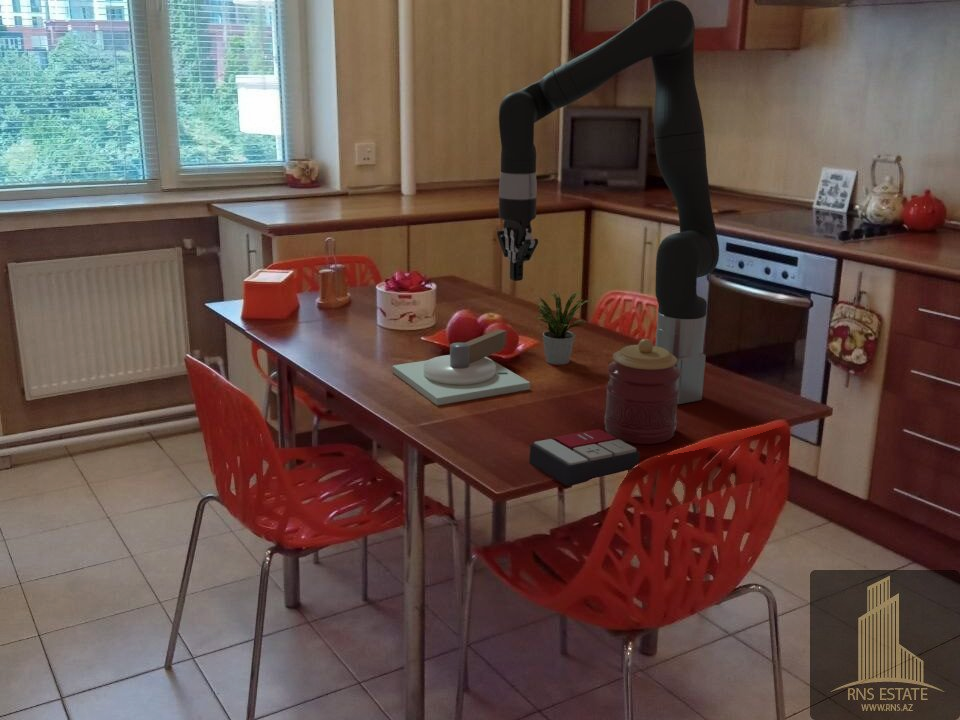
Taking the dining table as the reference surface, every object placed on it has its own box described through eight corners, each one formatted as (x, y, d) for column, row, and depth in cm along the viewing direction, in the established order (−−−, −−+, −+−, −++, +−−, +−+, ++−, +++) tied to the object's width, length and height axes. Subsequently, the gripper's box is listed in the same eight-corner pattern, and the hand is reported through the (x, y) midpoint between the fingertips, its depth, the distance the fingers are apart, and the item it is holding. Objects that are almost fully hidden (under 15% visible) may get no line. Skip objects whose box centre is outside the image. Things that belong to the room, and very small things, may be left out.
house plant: (594, 352, 216) (598, 283, 211) (595, 371, 203) (600, 298, 198) (532, 349, 218) (535, 280, 212) (529, 368, 205) (532, 295, 199)
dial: (467, 389, 186) (468, 361, 184) (408, 374, 194) (408, 347, 192) (530, 360, 204) (531, 334, 203) (474, 347, 213) (474, 322, 211)
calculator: (641, 448, 156) (569, 462, 148) (639, 472, 157) (567, 487, 149) (599, 426, 165) (529, 438, 157) (597, 449, 166) (527, 462, 158)
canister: (659, 416, 179) (666, 327, 173) (687, 443, 167) (696, 348, 161) (594, 420, 176) (599, 330, 171) (618, 448, 164) (624, 351, 159)
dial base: (529, 389, 192) (530, 381, 192) (436, 405, 183) (436, 397, 182) (479, 359, 210) (479, 351, 210) (392, 372, 201) (392, 364, 200)
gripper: (551, 198, 184) (549, 284, 190) (517, 190, 196) (515, 272, 201) (518, 200, 181) (516, 288, 186) (485, 192, 192) (484, 275, 197)
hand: (516, 279), depth 194 cm, fingers closed
